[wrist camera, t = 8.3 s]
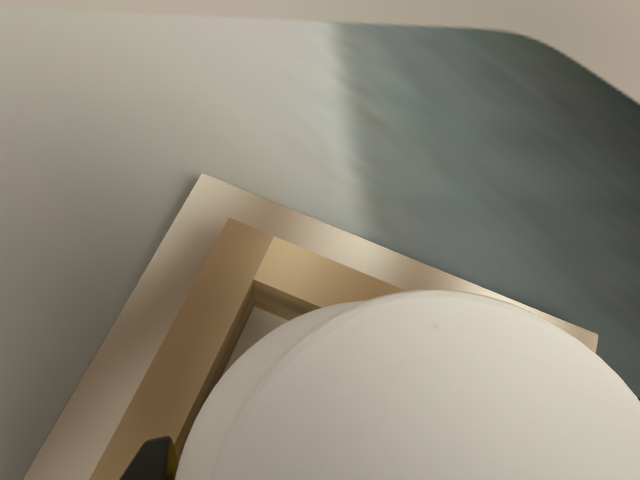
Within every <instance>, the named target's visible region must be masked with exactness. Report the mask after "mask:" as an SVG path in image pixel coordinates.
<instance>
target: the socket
mask: <svg viewBox="0 0 640 480" xmlns="http://www.w3.org/2000/svg"><path fill="white" fill-rule="evenodd" d="M413 290H453V291H464V292H469V293H475V294H480V295H485V296H490V297H493V298H496V299H500V300H503V301H506V302H509V303H512V304H514V305H517V306H519V307H521V308H524V309H526V310H528V311H531V312H533V313H535V314H537V315H538V316H540V317H542V318H544V319H546V320H548V321H549V322H551V323H553V324H555V325H557V326H558V327H560V328H562V329H563V330H565V331H566V332H568V333H569V334H570V335H572V336H573V337H575V338H576V339H578V340H579V341H580V342H581V343H583V344H584V345H585V346H586V347H588V348H589V349H590V350H591V351H592V352H594V353H595V354H596V348H597V341H598V335H597V334H595V333H593V332H590V331H588V330H585V329H583V328H580V327H578V326H575V325H573V324H571V323H568V322H566V321H563V320H561V319H558V318H556V317H553V316H551V315H548V314H546V313H544V312H541V311H539V310H536V309H534V308H531V307H529V306H526V305H524V304H522V303H519V302H517V301H514V300H512V299H509V298H507V297H504V296H502V295H500V294H497V293H495V292H492V291H490V290H487V289H485V288H482V287H480V286H478V285H475V284H473V283H470V282H468V281H465V280H463V279H460V278H458V277H456V276H453V275H451V274H448V273H446V272H443V271H441V270H438V269H436V268H434V267H431V266H429V265H426V264H424V263H421V262H419V261H416V260H414V259H411V258H409V257H407V256H404V255H402V254H399V253H397V252H394V251H392V250H389V249H387V248H385V247H382V246H380V245H377V244H375V243H372V242H370V241H367V240H365V239H363V238H360V237H358V236H355V235H353V234H350V233H348V232H345V231H343V230H341V229H338V228H336V227H333V226H331V225H328V224H326V223H323V222H321V221H319V220H316V219H314V218H311V217H309V216H306V215H304V214H301V213H299V212H297V211H294V210H292V209H289V208H287V207H284V206H282V205H279V204H277V203H274V202H272V201H270V200H267V199H265V198H262V197H260V196H257V195H255V194H252V193H250V192H248V191H245V190H243V189H240V188H238V187H235V186H233V185H230V184H228V183H226V182H223V181H221V180H218V179H216V178H213V177H211V176H208V175H206V174H204V173H202V174H201V175H200V177H199V179H198V181H197V182H196V184H195V186H194V187H193V189H192V191H191V193H190V194H189V196H188V198H187V199H186V201H185V203H184V204H183V206H182V208H181V210H180V211H179V213H178V215H177V216H176V218H175V220H174V222H173V223H172V225H171V227H170V228H169V230H168V232H167V234H166V235H165V237H164V239H163V240H162V242H161V244H160V245H159V247H158V249H157V251H156V252H155V254H154V256H153V257H152V259H151V261H150V263H149V264H148V266H147V268H146V269H145V271H144V273H143V275H142V276H141V278H140V280H139V281H138V283H137V285H136V287H135V288H134V290H133V292H132V293H131V295H130V297H129V298H128V300H127V302H126V304H125V305H124V307H123V309H122V310H121V312H120V314H119V316H118V317H117V319H116V321H115V322H114V324H113V326H112V328H111V329H110V331H109V333H108V334H107V336H106V338H105V339H104V341H103V343H102V345H101V346H100V348H99V350H98V351H97V353H96V355H95V357H94V358H93V360H92V362H91V363H90V365H89V367H88V369H87V370H86V372H85V374H84V375H83V377H82V379H81V380H80V382H79V384H78V386H77V387H76V389H75V391H74V392H73V394H72V396H71V398H70V399H69V401H68V403H67V404H66V406H65V408H64V410H63V411H62V413H61V415H60V416H59V418H58V420H57V422H56V423H55V425H54V427H53V428H52V430H51V432H50V433H49V435H48V437H47V439H46V440H45V442H44V444H43V445H42V447H41V449H40V451H39V452H38V454H37V456H36V457H35V459H34V461H33V463H32V464H31V466H30V468H29V469H28V471H27V473H26V474H25V476H24V478H23V480H119V479H120V477H121V476H122V474H123V473H124V471H125V470H126V468H127V467H128V465H129V464H130V462H131V461H132V459H133V458H134V456H135V455H136V453H137V452H138V450H139V449H140V447H141V446H142V444H143V443H144V442H145V441H147V440H150V439H154V438H158V437H163V436H170V437H171V438H172V440H173V444H174V448H175V452H176V456H177V460H178V464H179V462H180V458H181V455H182V452H183V448H184V445H185V443H186V440H187V438H188V435H189V433H190V431H191V428H192V426H193V423H194V421H195V419H196V417H197V415H198V414H199V412H200V410H201V408H202V406H203V404H204V403H205V401H206V400H207V398H208V396H209V395H210V393H211V391H212V390H213V388H214V387H215V385H216V384H217V383H218V381H219V380H220V379H221V378H222V376H223V375H224V374H225V372H226V371H227V370H228V369H229V368H230V367H231V366H232V365H233V364H234V362H235V361H236V360H237V359H238V358H239V357H240V356H242V355H243V354H244V353H245V352H246V351H247V350H248V349H249V348H250V347H252V346H253V345H254V344H255V343H256V342H258V341H259V340H260V339H262V338H263V337H264V336H266V335H267V334H269V333H270V332H271V331H273V330H275V329H276V328H278V327H279V326H281V325H283V324H285V323H286V322H288V321H290V320H292V319H294V318H296V317H298V316H301V315H303V314H306V313H308V312H311V311H313V310H317V309H320V308H323V307H327V306H331V305H335V304H340V303H347V302H354V301H367V300H370V299H373V298H377V297H380V296H384V295H388V294H394V293H399V292H406V291H413Z"/></svg>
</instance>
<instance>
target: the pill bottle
mask: <svg viewBox="0 0 640 480" xmlns="http://www.w3.org/2000/svg"><path fill="white" fill-rule="evenodd" d="M175 480H640V401H639V400H638V398H637V397H636V396H635V394H634V393H633V392H632V391H631V390H630V389H629V387H628V386H627V385H626V384H625V383H624V381H623V380H622V379H621V378H620V377H619V376H618V375H617V374H616V373H615V372H614V371H613V370H612V369H611V368H610V367H609V366H608V365H607V364H606V363H605V362H604V361H603V360H602V359H601V358H600V357H599V356H597V355H596V354H595V353H594V352H592V351H591V350H590V349H589V348H588V347H586V346H585V345H584V344H583V343H581V342H580V341H579V340H578V339H576V338H575V337H573V336H572V335H570V334H569V333H568V332H566V331H565V330H563V329H562V328H560V327H558V326H557V325H555V324H553V323H551V322H549V321H548V320H546V319H544V318H542V317H540V316H538V315H537V314H535V313H533V312H531V311H528V310H526V309H524V308H521V307H519V306H517V305H514V304H512V303H509V302H506V301H503V300H500V299H496V298H493V297H490V296H485V295H480V294H475V293H469V292H464V291H453V290H413V291H406V292H399V293H394V294H388V295H384V296H380V297H377V298H373V299H370V300H367V301H354V302H347V303H340V304H335V305H331V306H327V307H323V308H320V309H317V310H313V311H311V312H308V313H306V314H303V315H301V316H298V317H296V318H294V319H292V320H290V321H288V322H286V323H285V324H283V325H281V326H279V327H278V328H276V329H275V330H273V331H271V332H270V333H269V334H267V335H266V336H264V337H263V338H262V339H260V340H259V341H258V342H256V343H255V344H254V345H253V346H252V347H250V348H249V349H248V350H247V351H246V352H245V353H244V354H243V355H242V356H240V357H239V358H238V359H237V360H236V361H235V362H234V364H233V365H232V366H231V367H230V368H229V369H228V370H227V371H226V372H225V374H224V375H223V376H222V378H221V379H220V380H219V381H218V383H217V384H216V385H215V387H214V388H213V390H212V391H211V393H210V395H209V396H208V398H207V400H206V401H205V403H204V404H203V406H202V408H201V410H200V412H199V414H198V415H197V417H196V419H195V421H194V423H193V426H192V428H191V431H190V433H189V435H188V438H187V440H186V443H185V445H184V448H183V452H182V455H181V458H180V462H179V465H178V469H177V472H176V477H175Z"/></svg>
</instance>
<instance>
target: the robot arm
mask: <svg viewBox="0 0 640 480" xmlns="http://www.w3.org/2000/svg"><path fill="white" fill-rule="evenodd" d="M638 400H639V401H640V399H639V398H638ZM178 465H179V464H178V460H177V456H176V452H175V448H174V444H173V440H172V438H171V437H170V436H163V437H158V438H154V439H150V440H147V441H145V442H144V443H143V444H142V446H141V447H140V449H139V450H138V452H137V453H136V455H135V456H134V458H133V459H132V461H131V462H130V464H129V465H128V467H127V468H126V470H125V471H124V473H123V474H122V476H121V477H120V479H119V480H175V477H176V472H177V469H178Z"/></svg>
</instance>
